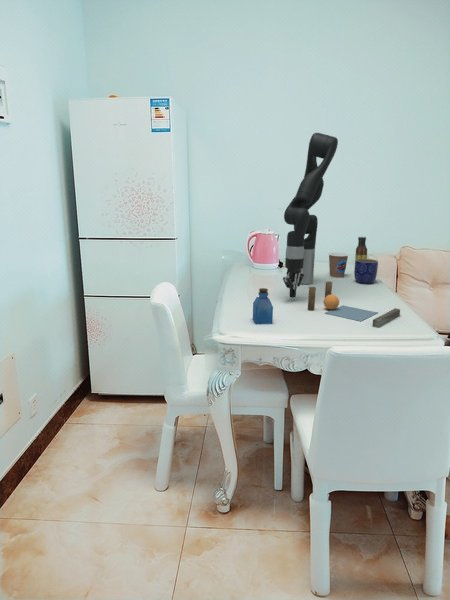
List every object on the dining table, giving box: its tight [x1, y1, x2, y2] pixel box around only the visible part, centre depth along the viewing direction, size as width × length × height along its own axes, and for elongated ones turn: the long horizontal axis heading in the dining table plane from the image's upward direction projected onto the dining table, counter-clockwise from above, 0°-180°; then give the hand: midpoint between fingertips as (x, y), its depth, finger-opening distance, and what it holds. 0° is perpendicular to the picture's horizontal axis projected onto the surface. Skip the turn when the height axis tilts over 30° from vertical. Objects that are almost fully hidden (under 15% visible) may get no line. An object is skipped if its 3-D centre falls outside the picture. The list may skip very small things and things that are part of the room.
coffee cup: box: [328, 252, 349, 279], centre depth 243 cm, size 10×10×12 cm
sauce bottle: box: [354, 236, 368, 261], centre depth 251 cm, size 7×6×20 cm
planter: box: [353, 258, 379, 285], centre depth 230 cm, size 11×11×11 cm
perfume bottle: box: [252, 287, 274, 325], centre depth 166 cm, size 6×6×12 cm
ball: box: [323, 294, 340, 311], centre depth 183 cm, size 6×6×6 cm
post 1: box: [307, 286, 317, 311], centre depth 182 cm, size 3×3×9 cm
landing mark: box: [324, 304, 379, 323], centre depth 179 cm, size 15×15×1 cm
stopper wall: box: [372, 308, 401, 329], centre depth 170 cm, size 2×20×2 cm, turn 139°
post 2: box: [324, 281, 333, 298], centre depth 191 cm, size 3×3×9 cm
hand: (292, 297), depth 195 cm, fingers closed
